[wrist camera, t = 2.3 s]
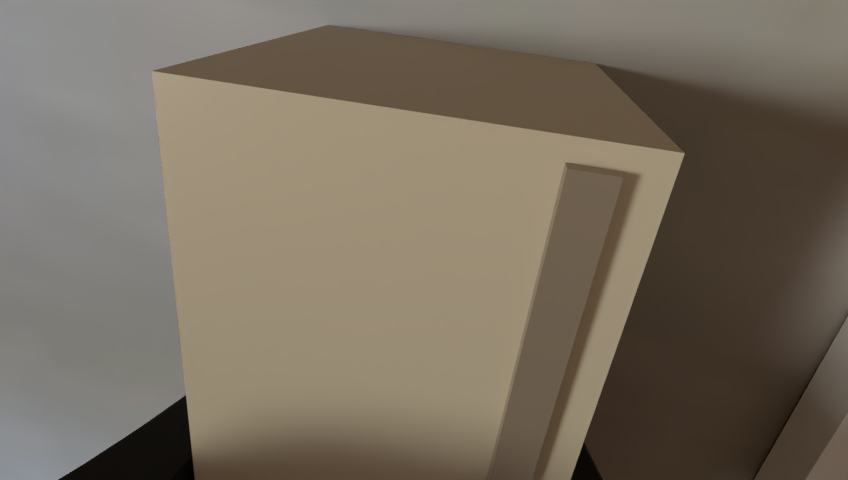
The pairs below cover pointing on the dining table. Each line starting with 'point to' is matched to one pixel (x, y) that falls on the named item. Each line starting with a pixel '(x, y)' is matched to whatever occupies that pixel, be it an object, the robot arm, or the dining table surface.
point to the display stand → (816, 425)
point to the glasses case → (401, 254)
